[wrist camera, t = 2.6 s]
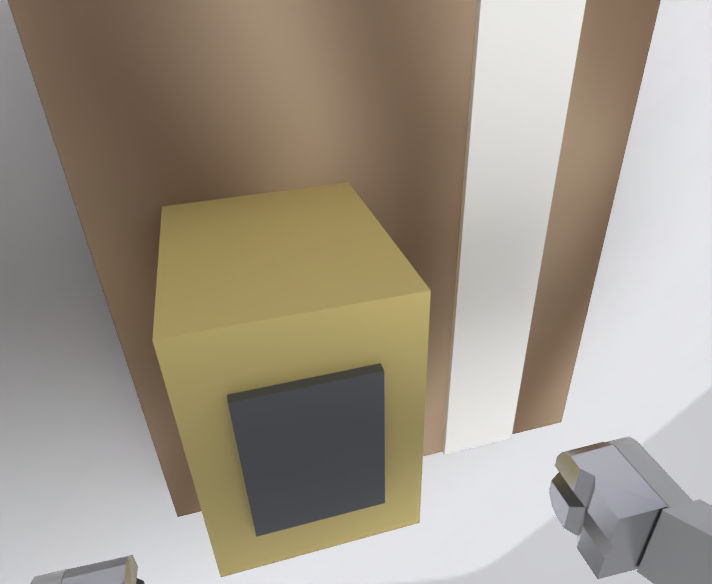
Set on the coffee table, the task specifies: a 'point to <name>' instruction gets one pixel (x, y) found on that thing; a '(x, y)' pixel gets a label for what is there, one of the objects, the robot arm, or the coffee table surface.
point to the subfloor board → (360, 163)
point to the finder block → (292, 369)
